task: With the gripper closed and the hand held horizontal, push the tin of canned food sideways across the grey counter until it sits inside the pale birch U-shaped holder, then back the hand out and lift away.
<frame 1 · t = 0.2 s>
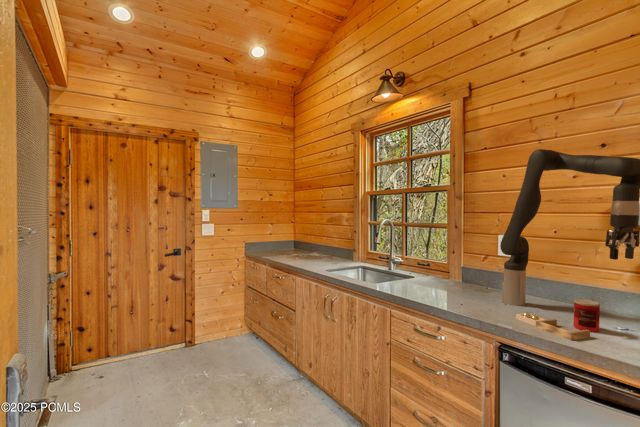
hand: (621, 258, 119), 29 cm above the worktop, tool pointing down, fingers open, 8 cm apart
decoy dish: (530, 322, 136), on the worktop
steel ball: (526, 319, 138), point 1 cm above the worktop, touching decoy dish
birch holder: (563, 333, 124), on the worktop
brass ball: (535, 322, 134), point 1 cm above the worktop, touching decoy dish
canned food: (586, 330, 128), on the worktop
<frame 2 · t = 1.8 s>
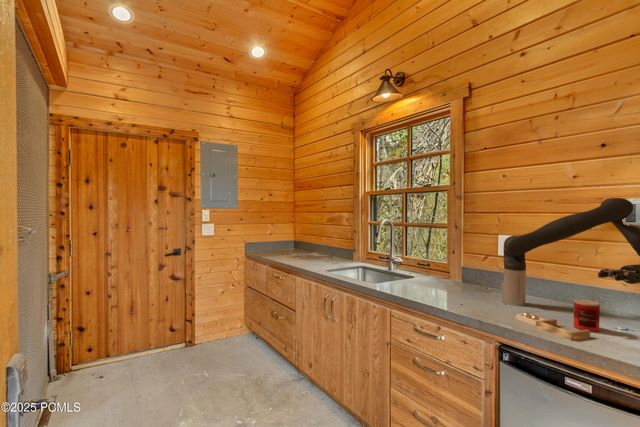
hand: (607, 276, 131), 20 cm above the worktop, tool horizontal, fingers open, 5 cm apart
nothing on the worktop moved.
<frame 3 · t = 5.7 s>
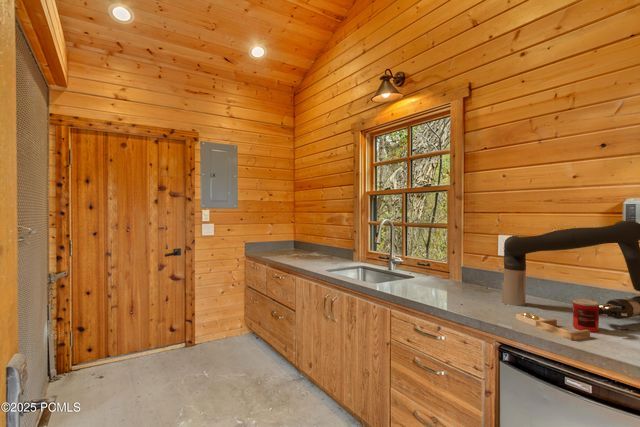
hand: (592, 312, 129), 7 cm above the worktop, tool horizontal, fingers closed
canned food: (585, 330, 128), on the worktop, touching gripper
everything else where it was.
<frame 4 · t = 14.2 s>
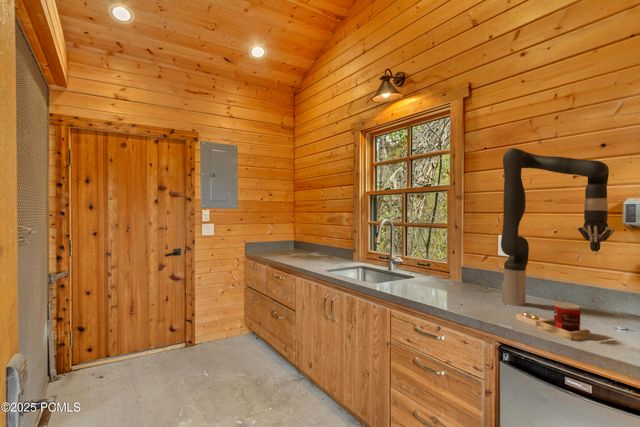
hand: (595, 251, 138), 29 cm above the worktop, tool pointing down, fingers closed
canned food: (566, 335, 123), on the worktop
everything else where it was.
at the end: canned food inside the target area (1.1 cm from its centre), on the worktop; canned food tilted 0°; canned food touching worktop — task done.
